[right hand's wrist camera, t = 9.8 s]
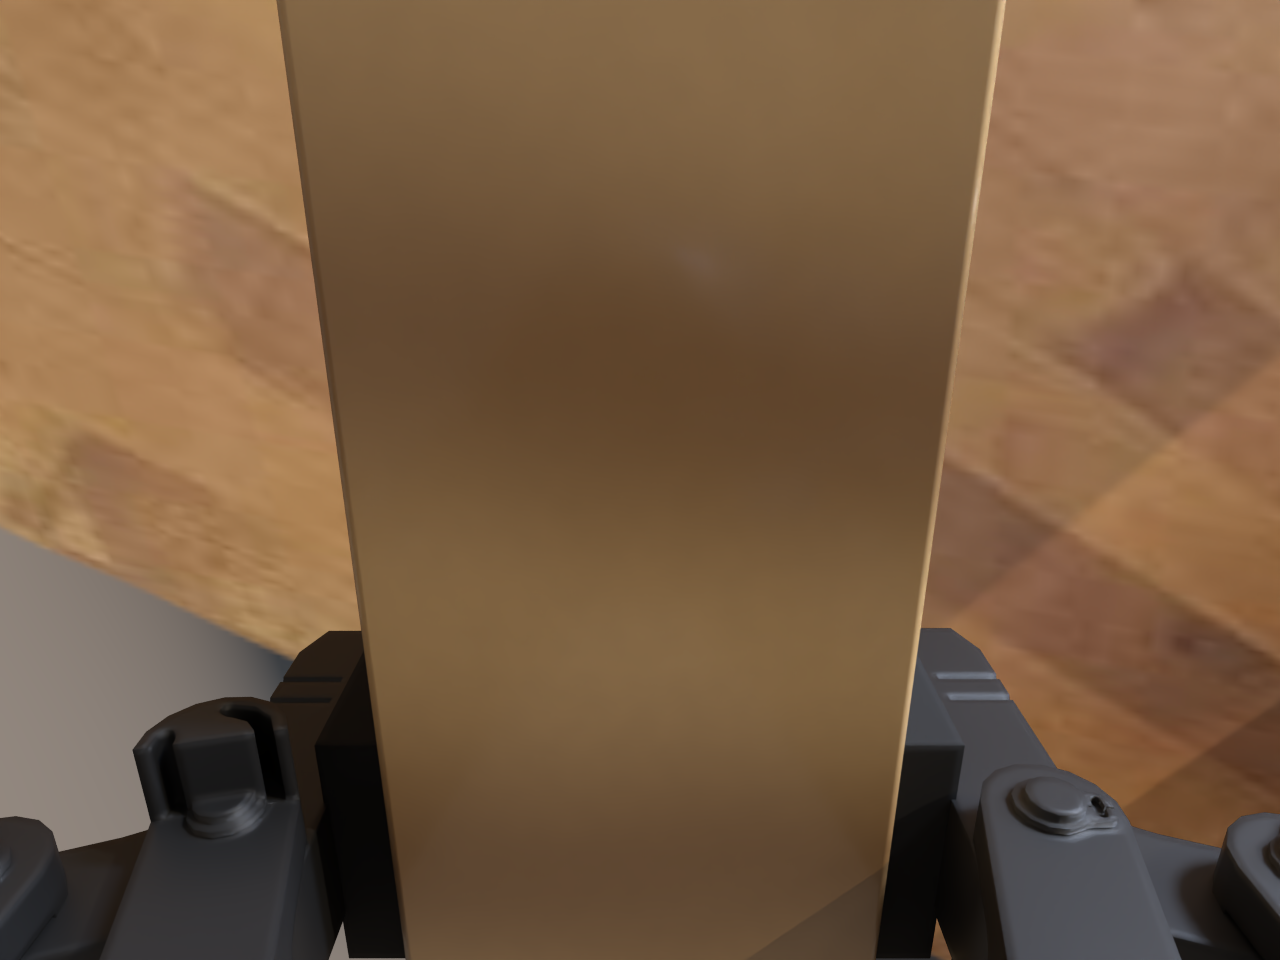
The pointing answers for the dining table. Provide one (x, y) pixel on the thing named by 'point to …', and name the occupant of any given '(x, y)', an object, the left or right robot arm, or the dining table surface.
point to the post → (640, 445)
